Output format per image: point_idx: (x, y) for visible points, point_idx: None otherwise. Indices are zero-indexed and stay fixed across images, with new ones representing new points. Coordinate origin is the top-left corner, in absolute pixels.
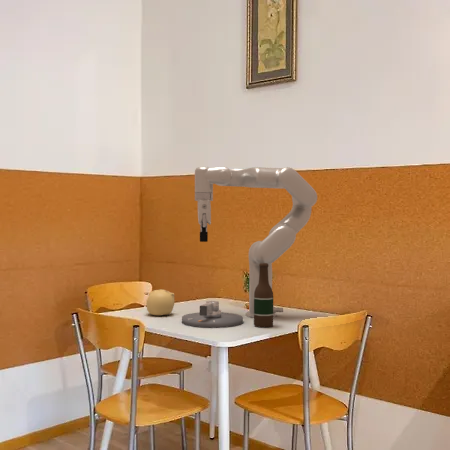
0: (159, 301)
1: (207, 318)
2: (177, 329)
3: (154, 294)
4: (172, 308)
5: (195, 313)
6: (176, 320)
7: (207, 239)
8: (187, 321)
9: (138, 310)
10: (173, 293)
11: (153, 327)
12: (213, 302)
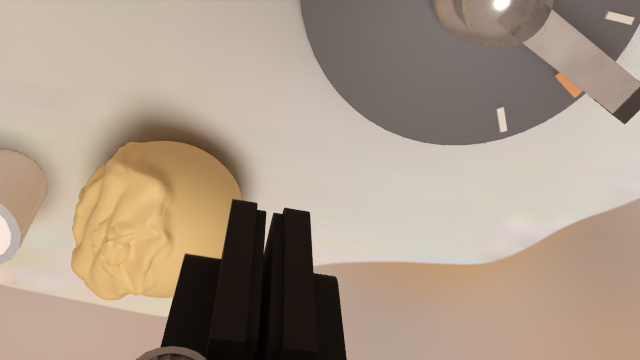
0: None
1: None
2: (569, 180)
3: None
4: (202, 152)
5: (329, 48)
6: (355, 143)
7: (307, 233)
8: (511, 132)
9: (22, 257)
10: (157, 184)
11: (482, 256)
12: (538, 6)
